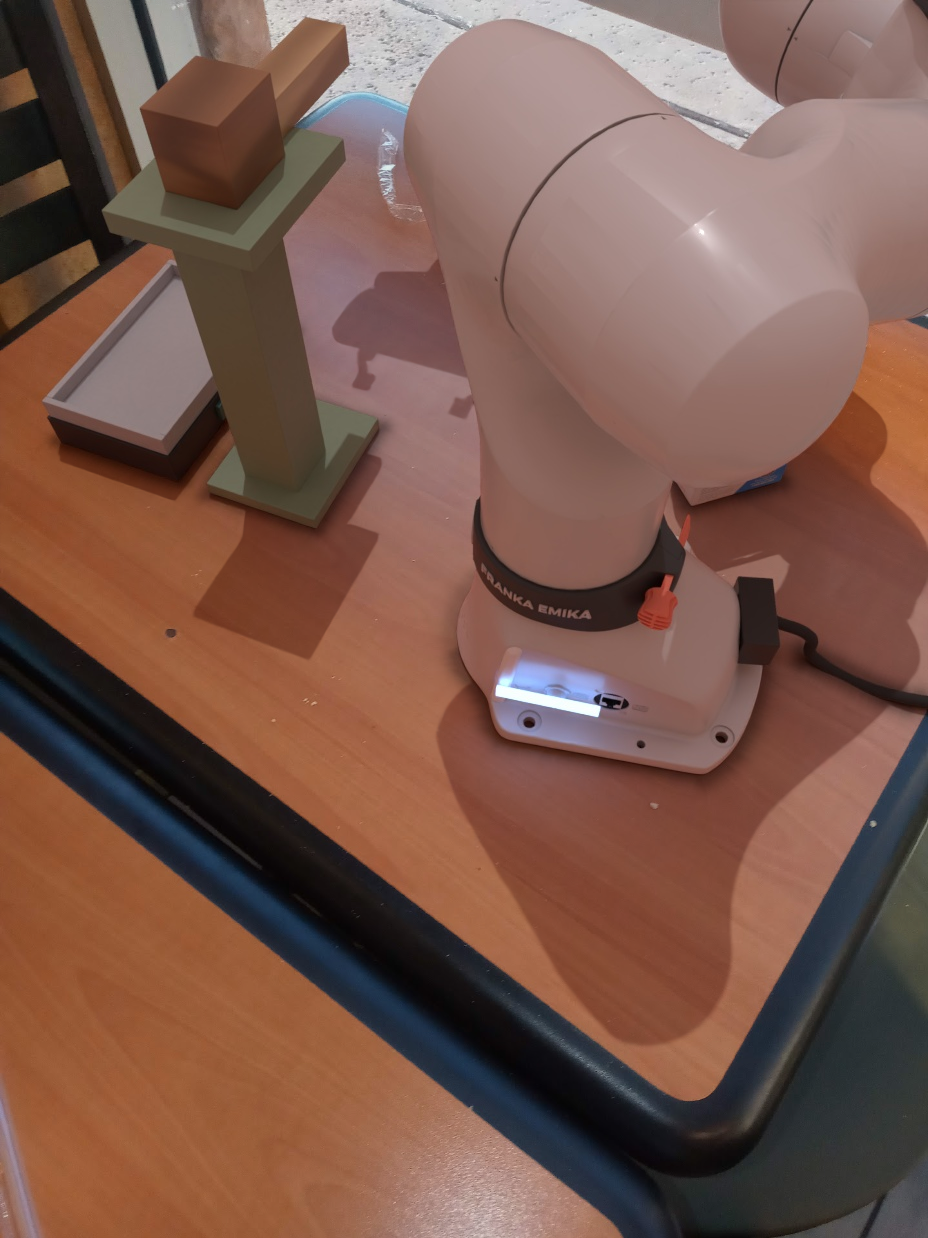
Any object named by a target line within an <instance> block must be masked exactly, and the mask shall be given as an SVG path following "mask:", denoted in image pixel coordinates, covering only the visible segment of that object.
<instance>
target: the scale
mask: <svg viewBox="0 0 928 1238" xmlns="http://www.w3.org/2000/svg"><path fill="white" fill-rule="evenodd" d="M41 402H42V404H43V406H44V408H45V410H46V411H47V414H48V415H47V417H46V419H47V421H48V422H49V424H50V425H51V427H52V429H53V431H54V433H55V435H56V436H57V438H58V440H59V442H60V443H63V444H65V445H68V446H72V447H75V448H77V449H80V450H83V451H87V452H89V453H92V454H95V455H98V456H101V457H104V458H107V459H110V460H112V461H115V462H119V463H121V464H124V465H128V466H131V467H134V468H136V469H139V470H142V471H145V472H148V473H151V474H153V475H157V476H159V477H163V478H166V479H169V480H172V481H174V482H177V483H179V482H180V481H181V479H182V478H183V477H184V476H185V474H186V473H187V472H188V470H189V469H190V468H191V466H192V465H193V464H194V462H195V461H196V460H197V458H198V457H199V455H200V454H201V453H202V452H203V450H204V449H205V448H206V446H207V445H208V444H209V442H210V441H211V440H212V438H214V435H215V434H216V433H217V432H218V430H219V429H220V427H222V425H223V424H224V422H225V420H227V418H226V415H225V412H224V408H223V405H222V402H221V399H220V396H219V393H218V390H217V387H216V384H215V381H214V378H213V375H212V371H211V368H210V365H209V362H208V359H207V356H206V353H205V350H204V347H203V344H202V341H201V338H200V334H199V331H198V328H197V325H196V322H195V319H194V316H193V313H192V310H191V307H190V304H189V301H188V297H187V294H186V291H185V288H184V285H183V282H182V279H181V276H180V273H179V270H178V267H177V264H176V260H175V259H168V260H167V261H166V263H165V264H164V265H163V266H162V267H161V268H160V269H159V270H158V271H157V273H156V274H155V275H154V276H153V277H152V278H151V279H150V280H149V281H148V283H146V285H145V286H144V287H143V288H142V289H141V290H140V291H139V292H138V294H137V295H136V296H135V297H134V298H133V299H132V300H131V302H130V303H129V304H127V306H126V307H125V308H124V309H123V310H122V311H121V313H120V314H119V315H118V316H117V317H116V318H115V319H114V320H113V321H112V323H110V324H109V326H108V327H107V328H106V329H105V330H104V331H103V332H102V334H101V335H100V336H99V337H98V338H97V339H96V340H95V341H94V343H93V344H91V346H90V347H89V348H88V349H87V350H86V351H85V353H83V355H82V356H81V357H80V358H79V359H78V360H77V361H76V362H75V363H74V364H73V365H72V367H71V368H70V369H69V370H68V371H67V372H66V373H65V374H64V376H63V377H62V378H61V379H60V380H59V381H58V382H57V383H56V384H55V386H54V387H53V388H52V389H51V390H50V391H49V392H48V394H46V396H44V398H43V399H42V400H41Z"/></svg>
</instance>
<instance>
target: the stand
mask: <svg viewBox="0 0 928 1238" xmlns="http://www.w3.org/2000/svg"><path fill="white" fill-rule="evenodd" d="M283 144H284V150H285V156H284V157H283V158H282V159H281V161H280V162H279V163H278V164H277V165H276V166H275V167H274V169H273V170H272V171H271V172H270V173H269V174H268V175H267V176H266V178H265V179H264V180H263V181H262V182H261V183H260V184H259V186H258V187H257V188H256V189H255V190H254V191H253V192H252V193H251V195H250V196H249V197H248V198H247V199H246V200H245V201H244V203H243V204H242V205H241V206H240V207H239V208H238V209H237V210H236V209H232V208H228V207H224V206H221V205H217V204H213V203H209V202H205V201H202V200H198V199H194V198H190V197H186V196H183V195H179V194H175V193H171V192H167V191H165V189H164V186H163V183H162V179H161V176H160V173H159V170H158V166H157V163H156V160H155V157H154V158H153V159H152V160H150V162H149V163H148V164H146V165H145V166H144V167H143V169H142V170H141V171H139V172H138V173H137V175H136V176H134V177H133V179H131V181H130V182H128V184H126V186H124V187H123V189H121V190H120V191H119V192H118V194H116V195H115V196H114V198H112V199H111V200H110V201H109V202H108V203H107V204H106V205H105V206H104V207H103V208H102V209H101V213H102V215H103V218H104V221H105V224H106V226H107V229H108V232H109V233H111V234H115V235H117V236H121V237H125V238H129V239H132V240H135V241H139V242H142V243H146V244H149V245H153V246H157V247H161V248H164V249H167V250H171V251H172V255H173V257H174V261H176V264H177V267H178V270H179V273H180V276H181V279H182V282H183V285H184V288H185V291H186V294H187V297H188V301H189V304H190V307H191V310H192V313H193V316H194V319H195V322H196V325H197V328H198V331H199V334H200V338H201V341H202V344H203V347H204V350H205V353H206V356H207V359H208V362H209V365H210V368H211V371H212V375H213V378H214V381H215V384H216V387H217V390H218V393H219V396H220V399H221V402H222V405H223V408H224V412H225V415H226V421H227V424H228V427H229V430H230V433H231V436H232V439H233V442H234V444H233V446H232V448H230V451H229V452H228V453H227V455H226V456H225V457H224V459H222V461H221V463H220V464H219V465H218V466H217V468H216V470H215V471H214V472H213V474H212V475H211V476H210V477H209V479H208V481H207V482H206V486H207V489H208V491H209V493H210V494H212V495H216V496H219V497H221V498H223V499H224V498H225V499H228V500H230V501H234V502H236V503H239V504H242V505H245V506H248V507H251V508H254V509H257V510H260V511H262V512H266V513H269V514H272V515H274V516H278V517H280V518H283V519H287V520H289V521H292V522H295V523H298V524H301V525H304V526H307V527H310V528H313V529H315V530H316V529H317V528H318V527H319V526H320V524H321V522H322V520H323V519H324V517H325V516H326V514H327V512H328V511H329V509H330V507H331V506H332V504H333V502H334V501H335V499H336V498H337V496H338V495H339V493H340V491H341V490H342V488H343V487H344V485H345V483H346V482H347V480H348V479H349V477H350V475H351V474H352V473H353V471H354V470H355V467H356V466H357V464H358V462H359V461H360V459H361V458H362V456H363V455H364V453H365V452H366V450H367V448H368V446H369V445H370V443H371V442H372V440H373V439H374V437H375V435H376V434H377V433H378V430H380V422H379V417H376V416H373V415H369V414H366V413H363V412H359V411H357V410H354V409H351V408H348V407H347V408H346V407H344V406H340V405H337V404H334V403H331V402H327V401H325V400H321V399H317V398H316V394H315V390H314V385H313V379H312V375H311V370H310V369H311V368H310V365H309V364H310V363H309V360H308V355H307V350H306V345H305V341H304V340H305V339H304V335H303V330H302V325H301V320H300V316H299V311H298V305H297V300H296V295H295V291H294V286H293V280H292V276H291V271H290V267H289V262H288V255H287V251H286V246H285V241H284V237H285V236H286V234H287V233H288V232H289V231H290V230H291V229H292V227H293V226H294V225H295V224H296V223H297V221H298V220H299V219H300V218H301V216H302V215H303V214H304V213H305V211H306V210H307V209H308V207H309V206H310V205H311V204H312V203H313V202H314V201H315V199H316V198H317V197H318V195H320V193H321V192H322V190H324V188H325V187H326V186H327V184H329V182H330V181H331V180H332V178H334V176H335V175H336V174H337V172H338V171H339V170H340V169H341V167H342V166H343V165H344V164H345V162H346V161H347V158H346V149H345V141H344V137H339V136H335V135H331V134H327V133H322V132H318V131H314V130H310V129H306V128H301V127H297V126H294V127H293V128H292V129H291V130H290V131H289V132H288V134H287V135H286V136H285V137H284V138H283Z"/></svg>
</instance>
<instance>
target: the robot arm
mask: <svg viewBox="0 0 928 1238" xmlns="http://www.w3.org/2000/svg"><path fill="white" fill-rule="evenodd" d="M717 5H718V6H717V7H718V9H717V10H718V25H719V30H720V31H719V32H720V36H721V40H722V45H723V48H724V52H725V54H726V56H727V59H728V61H729V63H730V64H731V66H732V67H733V68H734V70H735V71H736V72H737V73H738V74H739V75H740V76H741V77H742V78H743V79H744V80H745V81H746V82H747V83H749V84H750V85H751V86H752V87H753V88H754V89H756V90H757V91H759V92H760V93H762V94H763V95H764V96H766V97H767V98H769V99H770V100H771V101H773V102H775V103H777V104H778V105H780V106H782V107H783V108H782V109H780V110H779V111H777V112H775V113H774V114H773V115H771V116H770V117H769V118H768V119H765V121H763V123H762V124H760V126H758V127H757V128H756V129H755V131H753V133H751V134H750V136H749V137H748V138H747V139H746V140H745V141H744V143H743V144H742V145H741V146H740V147H739V148H735V147H733V146H731V145H729V144H727V143H725V142H722V141H721V140H719V139H716V138H714V137H713V136H711V135H710V134H708V133H706V132H705V131H703V130H702V129H700V128H699V127H698V126H697V125H695V124H693V122H691V121H689V120H687V119H686V118H684V117H683V116H682V115H680V114H679V113H678V112H677V111H675V110H674V109H673V107H671V106H670V105H668V104H667V103H666V102H664V101H663V99H661V98H660V97H659V96H658V95H656V94H655V93H653V91H651V90H650V89H649V88H648V87H647V86H645V85H644V84H643V83H642V82H640V81H639V80H638V79H636V78H635V76H633V75H632V74H630V72H628V70H626V69H624V67H622V66H621V65H620V64H618V62H616V61H615V60H614V59H612V58H611V57H610V56H609V55H608V54H606V53H605V52H603V51H602V50H601V49H599V48H598V47H596V46H594V45H592V44H591V43H590V44H589V43H587V42H584V41H582V40H579V39H578V38H575V37H572V36H570V35H567V34H564V33H563V32H560V31H556V30H553V29H550V28H548V27H545V26H542V25H539V24H535V23H533V22H530V21H526V20H524V19H518V18H500V19H495V20H490V21H486V22H483V23H481V24H479V25H476V26H474V27H472V28H470V29H468V30H467V31H465V32H464V33H462V34H460V35H459V36H457V37H456V38H455V39H454V40H452V41H451V42H450V43H449V44H447V45H446V47H444V49H443V50H442V51H441V52H440V53H438V55H437V56H436V57H435V59H434V60H433V61H432V62H431V63H430V64H429V66H428V68H427V69H426V71H425V72H424V74H423V75H422V77H421V79H420V81H419V82H418V84H417V86H416V88H415V90H414V93H413V95H412V98H411V100H410V103H409V106H408V109H407V112H406V116H405V121H404V126H403V137H402V151H403V152H402V153H403V159H404V164H405V169H406V172H407V175H408V177H409V180H410V183H411V185H412V188H413V190H414V194H415V195H416V198H417V200H418V204H419V205H420V208H421V211H422V214H423V215H424V218H425V221H426V223H427V226H428V229H429V232H430V234H431V239H432V241H433V244H434V248H435V251H436V254H437V258H438V262H439V266H440V269H441V274H442V277H443V281H444V285H445V289H446V293H447V298H448V302H449V307H450V311H451V316H452V320H453V325H454V329H455V330H454V331H455V333H456V339H457V342H458V345H459V346H458V347H459V350H460V354H461V359H462V361H463V366H464V370H465V373H466V377H467V381H468V385H469V390H470V393H471V397H472V401H473V405H474V410H475V416H476V420H477V428H478V436H479V473H480V475H479V478H480V484H479V487H480V495H479V497H478V499H476V501H475V506H474V511H473V516H472V523H471V538H470V539H471V541H470V542H471V545H472V560H473V562H474V566H475V573H474V577H473V581H472V584H471V588H470V590H469V591H468V593H467V595H466V596H465V598H464V600H463V602H462V604H461V607H460V610H459V613H458V618H457V625H456V640H457V647H458V651H459V654H460V657H461V661H462V662H463V664H464V667H465V669H466V671H467V673H468V674H469V675H470V677H471V678H472V680H473V681H474V682H475V683H476V684H477V686H478V687H479V689H480V690H481V691H482V693H483V694H484V696H485V698H486V700H487V702H488V707H489V712H490V716H491V720H492V724H493V725H494V728H495V731H496V732H497V733H498V735H500V736H501V737H502V738H503V739H506V740H508V741H513V742H519V743H523V744H529V745H535V746H540V747H546V748H551V749H556V750H562V751H567V752H572V753H578V754H585V755H590V756H595V757H600V758H606V759H611V760H618V761H623V762H628V763H632V764H633V763H634V764H639V765H644V766H650V767H654V768H661V769H666V770H670V771H671V770H672V771H678V772H682V773H689V774H695V775H706V774H708V773H710V772H711V771H713V770H714V769H716V768H718V766H719V765H721V764H722V763H723V762H724V761H725V760H726V759H727V758H728V757H729V756H730V755H731V754H732V752H734V749H735V748H736V746H737V745H738V743H739V741H741V739H742V737H743V735H744V733H745V732H746V728H747V727H748V724H749V722H750V720H751V716H752V713H753V710H754V707H755V704H756V701H757V698H758V694H759V690H760V685H761V681H762V674H763V666H766V667H768V666H770V664H771V663H772V661H773V659H774V658H775V656H776V654H777V652H778V651H779V649H780V647H781V638H780V631H783V632H785V633H787V634H788V633H789V634H791V635H794V636H797V637H799V638H801V639H802V640H804V644H803V649H802V650H803V655H804V657H805V659H806V660H807V661H808V662H810V663H811V664H812V665H813V666H815V667H816V668H818V669H819V670H821V671H822V672H823V673H826V674H829V675H831V676H833V677H835V678H837V679H838V680H842V681H843V682H845V683H847V684H849V685H851V686H852V687H855V688H857V689H859V690H861V691H863V692H865V693H867V694H870V695H871V696H873V697H877V698H880V699H883V700H886V701H891V702H893V703H899V704H904V705H908V706H914V707H919V708H920V707H922V708H928V695H925V694H920V693H919V694H918V693H914V692H913V693H912V692H907V691H902V690H898V689H894V688H890V687H886V686H883V685H879V684H876V683H875V682H871V681H869V680H866V679H863V678H861V677H858V676H856V675H854V674H851V673H849V671H848V672H847V671H846V670H844V669H842V668H840V667H839V666H837V665H835V664H833V663H832V662H831V661H830V660H828V659H827V658H826V657H824V656H823V655H821V654H820V653H819V652H817V648H818V646H819V637H818V635H817V633H816V632H814V631H813V630H812V629H811V628H810V627H808V626H806V625H804V624H802V623H800V622H797V621H794V620H792V619H787V618H785V617H782V616H779V615H778V611H777V602H776V593H775V586H774V585H775V584H774V578H771V577H755V576H741V575H740V576H737V577H736V580H735V582H734V585H733V586H732V584H731V583H730V582H729V581H728V580H727V579H725V578H724V577H723V576H722V575H720V574H719V573H717V572H716V571H715V570H713V568H711V567H710V566H708V565H707V564H706V563H704V562H703V561H702V560H700V559H699V558H698V557H696V555H694V554H692V547H691V545H690V543H689V542H688V541H687V540H688V537H689V534H690V531H691V515H690V514H689V513H688V514H687V515H686V517H685V520H684V522H683V525H682V528H681V530H680V534H679V535H676V534H675V533H674V532H673V531H672V529H671V527H670V525H669V524H668V522H667V519H666V516H665V514H664V513H665V511H666V507H667V502H668V499H669V495H670V493H671V489H672V486H673V485H672V484H673V482H675V483H676V484H677V483H678V484H680V485H682V486H686V487H690V488H714V487H722V486H728V485H734V484H739V483H743V482H746V481H749V480H752V479H755V478H758V477H760V476H763V475H765V474H767V473H769V472H771V471H774V470H776V469H778V468H779V467H781V466H783V465H785V464H786V463H788V464H789V462H791V461H793V460H794V459H796V458H797V457H798V456H800V455H801V454H802V453H804V452H805V451H806V450H807V449H808V448H810V447H811V446H812V445H813V444H814V443H815V442H816V441H817V440H818V439H819V438H820V437H821V436H822V435H823V434H824V433H825V432H826V431H827V430H828V429H829V428H830V426H831V425H832V424H833V422H835V420H836V419H837V418H838V416H839V414H840V413H841V411H842V410H843V409H844V407H845V405H846V403H847V401H848V400H849V398H850V396H851V394H852V393H853V390H854V389H855V386H856V383H857V381H858V378H859V376H860V373H861V370H862V368H863V364H864V360H865V356H866V352H867V351H866V350H867V347H868V340H869V329H870V327H875V326H880V325H884V324H890V323H891V324H892V323H897V322H900V321H905V320H909V319H914V318H918V317H923V316H926V315H928V0H718V2H717ZM678 484H677V485H678ZM526 722H531V723H533V725H534V726H532V727H526V725H525V723H526ZM716 737H721V738H723V739H724V741H725V742H720V741H718V740H717V738H716ZM640 747H641V748H640Z"/></svg>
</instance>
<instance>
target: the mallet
mask: <svg viewBox="0 0 928 1238" xmlns="http://www.w3.org/2000/svg"><path fill="white" fill-rule="evenodd" d="M346 27H347V26H346V24H342V23H336V22H332V21H327V20H323V19H318V18H314V17H308V16H305V17H303V19H301V20H300V22H299V23H297V25H296V26H294V27H293V29H292V30H291V31H290V32H289V33H287V35H286V36H285V37H284V38H283V39H281V40H280V42H279V43H278V44H277V45H276V46H275V47H274V48H272V50H271V51H269V53H268V54H266V56H265V57H264V58H263V59H262V60H261V61H260V62H259V63H258V64H257V65H256V66H255V67H254V68H253V67H249V66H245V65H241V64H235V63H231V62H228V61H227V62H226V61H222V60H219V59H213V58H209V57H204V56H201V55H194V56H193V58H191V59H190V60H189V61H188V62H187V63H186V64H185V65H184V66H183V67H181V68H180V69H179V70H178V71H177V72H176V73H175V74H174V75H173V76H172V77H171V78H170V79H169V80H167V82H166V83H164V84H163V85H162V86H161V87H160V88H159V89H157V91H156V92H155V93H154V94H152V96H150V97H149V98H148V99H147V100H146V101H145V102H143V104H142V105H141V106H140V107H139V112H140V116H141V118H142V123H143V125H144V127H145V131H146V134H147V138H148V141H149V144H150V147H151V151H152V154H153V156H154V158H155V160H156V163H157V166H158V170H159V173H160V176H161V179H162V183H163V186H164V189H165V191H167V192H171V193H175V194H179V195H183V196H186V197H190V198H194V199H198V200H202V201H205V202H209V203H213V204H217V205H221V206H224V207H228V208H232V209H236V210H237V209H238V208H239V207H240V206H241V205H242V204H243V203H244V201H245V200H246V199H247V198H248V197H249V196H250V195H251V193H252V192H253V191H254V190H255V189H256V188H257V187H258V186H259V184H260V183H261V182H262V181H263V180H264V179H265V178H266V176H267V175H268V174H269V173H270V172H271V171H272V170H273V169H274V167H275V166H276V165H277V164H278V163H279V162H280V161H281V159H282V158H283V157H284V156H285V150H284V144H283V138H284V137H285V136H286V135H287V134H288V132H289V131H290V130H291V129H292V128H293V127H296V125H297V124H298V122H300V120H301V119H302V118H303V117H304V116H305V115H306V114H307V113H308V112H309V111H310V109H311V108H312V107H313V106H314V105H315V103H317V101H319V99H320V98H321V97H322V96H323V95H324V94H325V93H326V92H327V90H328V89H329V88H330V87H332V85H333V84H334V82H335V81H336V80H337V79H338V78H339V77H340V76H341V75H342V74H343V72H345V70H346V69H348V67H349V66H350V64H351V62H350V54H349V44H348V35H347V28H346Z"/></svg>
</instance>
